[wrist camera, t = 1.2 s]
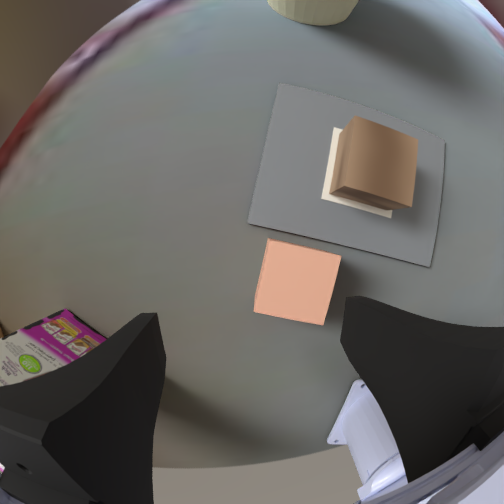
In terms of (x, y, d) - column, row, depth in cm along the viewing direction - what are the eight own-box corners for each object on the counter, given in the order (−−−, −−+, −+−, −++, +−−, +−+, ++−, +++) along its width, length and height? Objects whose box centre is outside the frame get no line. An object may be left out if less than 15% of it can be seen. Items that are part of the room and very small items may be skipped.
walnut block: (394, 152, 19) (418, 139, 15) (386, 210, 20) (411, 207, 16) (339, 134, 19) (354, 115, 16) (329, 193, 20) (344, 185, 16)
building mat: (442, 140, 20) (445, 139, 19) (427, 266, 21) (430, 267, 20) (278, 85, 20) (279, 82, 19) (247, 223, 21) (247, 222, 20)
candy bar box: (57, 344, 22) (-52, 410, 6) (65, 306, 22) (-66, 363, 6) (144, 404, 22) (65, 525, 6) (159, 369, 22) (64, 505, 6)
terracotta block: (324, 250, 21) (341, 256, 16) (311, 306, 21) (323, 325, 17) (268, 237, 21) (269, 239, 16) (255, 295, 21) (253, 311, 17)
